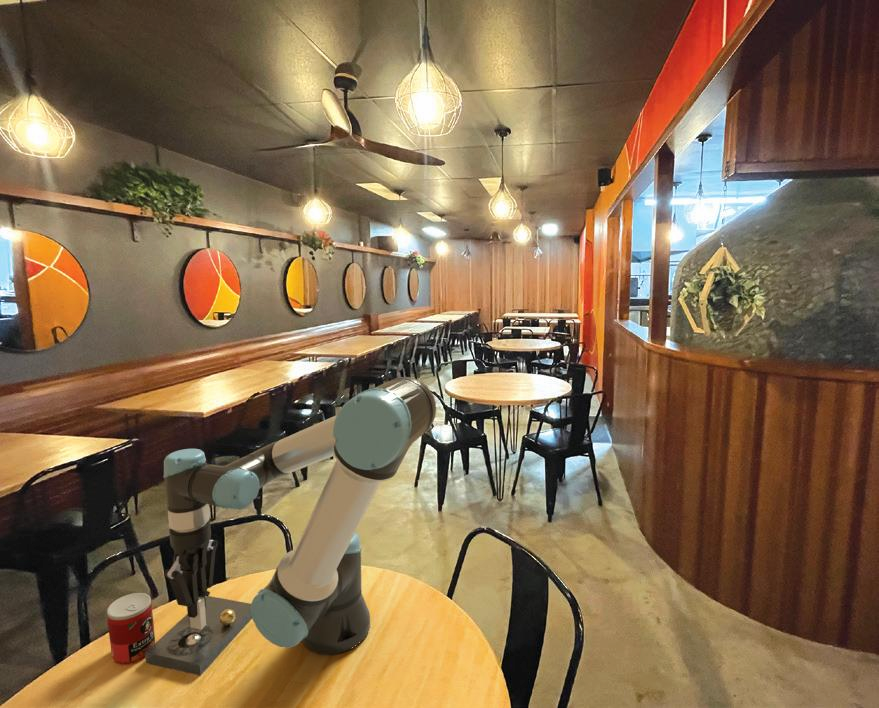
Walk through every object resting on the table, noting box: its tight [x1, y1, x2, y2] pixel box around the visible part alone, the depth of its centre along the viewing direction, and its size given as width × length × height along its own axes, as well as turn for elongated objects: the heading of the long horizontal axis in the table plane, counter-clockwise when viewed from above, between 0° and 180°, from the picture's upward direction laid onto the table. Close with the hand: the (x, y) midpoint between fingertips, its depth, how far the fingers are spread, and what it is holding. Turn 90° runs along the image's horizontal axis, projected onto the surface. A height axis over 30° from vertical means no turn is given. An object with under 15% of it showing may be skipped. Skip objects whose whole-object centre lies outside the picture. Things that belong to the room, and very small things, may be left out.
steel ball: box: [184, 634, 202, 648], centre depth 100 cm, size 3×3×3 cm
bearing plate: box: [144, 595, 253, 676], centre depth 103 cm, size 13×18×2 cm
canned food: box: [106, 592, 156, 666], centre depth 99 cm, size 8×8×11 cm
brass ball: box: [219, 609, 235, 626], centre depth 104 cm, size 3×3×3 cm
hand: (198, 626), depth 102 cm, fingers closed
